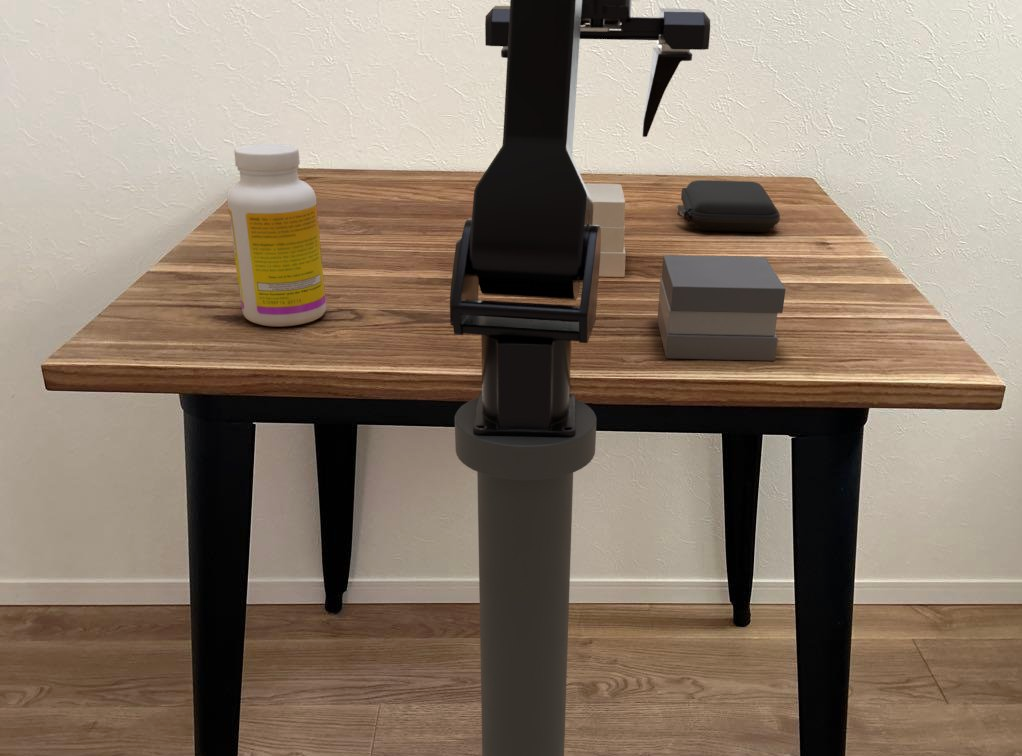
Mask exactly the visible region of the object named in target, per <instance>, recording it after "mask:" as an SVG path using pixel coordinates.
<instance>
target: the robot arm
mask: <svg viewBox="0 0 1022 756" xmlns="http://www.w3.org/2000/svg"><path fill="white" fill-rule="evenodd" d="M509 2H510V3H509V5H494V6H493V7H492V8H491V10H489V11H488V13H487V14H486V15H485V23H484V26H485V28H484V29H485V32H484V33H485V34H484V37H485V39H484V40H485V46H486V47H487V46H488V47H502V49H501V50H500V57H501V58H503V59H506V76H505V77H506V78H505V95H504V111H503V112H504V113H503V114H504V115H503V131H502V132H503V133H502V145H501V147H500V149H499V150H498V152H497V153H496V155H495V156H494V158H493V159H492V161H491V162H490V164H489V165H488V167H487V169H486V170H485V171H484V173H483V175H482V176H481V178H480V179H479V181H478V182H477V184H476V185H475V187H474V190H473V197H472V198H473V200H472V212H471V218H466V221H465V222H464V225H463V229H462V234H461V237H460V238H459V239H458V240H457V241H456V242H455V248H454V256H453V264H452V265H453V266H452V272H451V273H452V274H451V282H450V291H449V292H450V294H449V295H450V296H449V318H450V319H449V321H450V323H449V325H450V326H452V328H453V329H452V330H453V335H454V336H464V335H475V336H478V335H479V336H481V337H480V339H481V344H480V345H481V392H480V393H479V394H478V397H479V398H478V397H477V398H478V404H477V409H476V414H475V420H474V425H473V433H474V434H475V435H477V436H511V437H559V438H571V437H574V436H575V432H576V424H575V399H576V396H575V394H574V393H571V363H572V362H571V361H572V342H578V343H580V344H588V343H589V340H590V338H591V334H592V333H593V329H594V326H595V323H596V320H597V319H596V318H597V317H596V316H597V307H598V306H597V305H598V294H599V293H598V291H599V281H600V280H599V279H600V277H599V267H600V252H601V228H600V225H592V223H593V201H592V199H591V196H590V194H589V192H588V190H587V188H586V186H585V184H584V183H585V181H584V180H583V178H582V175H581V173H580V171H579V170H578V168H577V165H576V163H575V161H574V159H573V151H574V150H573V149H574V131H575V118H576V104H577V103H576V102H577V85H578V73H579V71H578V70H579V69H578V68H579V58H580V57H579V56H580V54H579V53H580V41H581V40H613V41H614V40H615V41H617V40H618V41H619V40H620V41H621V40H622V41H656V44H657V45H658V47H656V46H655V47H653V50H652V56H651V63H650V65H651V66H650V72H649V79H648V83H647V84H648V85H647V90H646V95H645V101H644V107H643V108H644V109H643V113H642V121H641V122H642V123H641V124H642V125H641V126H642V128H641V136H642V137H643V138H647V137H648V135H649V132H650V130H651V127H652V124H653V122H654V119H655V117H656V115H657V113H658V109H659V107H660V104H661V101H662V99H663V96H664V94H665V92H666V90H667V87H668V86H669V84H670V82H671V80H672V79H673V76H674V75H675V72H676V71H677V69H678V68H679V65H680V64H681V62H691V61H693V53H692V52H691V51H690V50H694V51H695V50H697V51H698V50H699V51H701V50H702V51H704V50H709V47H710V36H711V19H710V18H709V16H708V15H707V14H706V12H705V11H703V10H701V9H699V8H659V14H658V16H632V3H633V0H509ZM581 284H582V285H581ZM581 286H582V288H581ZM580 289H581V293H580ZM479 291H480V292H481V293H482V295H483V296H492V297H493V296H496V297H510V298H511V297H512V298H526V299H527V298H528V299H545V300H547V299H548V300H561V301H562V300H564V301H577V300H578V297H579V293H580V303H579V305H570V304H569V305H567V304H551V303H534V302H520V301H519V302H517V301H503V300H502V301H501V300H487V299H486V300H485V299H479Z"/></svg>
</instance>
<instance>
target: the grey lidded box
mask: <svg viewBox="0 0 1022 756" xmlns="http://www.w3.org/2000/svg"><path fill="white" fill-rule="evenodd" d="M786 290H787V289H786V287H785V286H784V284H783V283H782V281H781V279H780V277H779V276H778V274H777V273H776V272H775V269H774V268H773V267H772V265H771V263H770V262H769V260H768V258H767V257H766V256H733V255H732V256H731V255H729V256H728V255H684V254H683V255H681V254H680V255H678V254H663V256H662V268H661V277H660V278H659V291H658V306H657V318H656V319H657V320H656V323H657V326H658V330H659V335H660V339H661V343H662V347H663V351H664V355H665V359H667V360H668V359H669V360H672V359H673V360H715V361H716V360H717V361H719V360H720V361H763V362H764V361H768V362H771V361H772V362H775V360H776V356H777V355H776V354H777V349H778V347H777V346H778V339H779V337H778V335H777V334H776V329H777V321H778V314H783V312H784V305H785V297H786Z"/></svg>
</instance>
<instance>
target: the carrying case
mask: <svg viewBox="0 0 1022 756" xmlns="http://www.w3.org/2000/svg"><path fill="white" fill-rule="evenodd" d="M680 199H681V202H682V205H681V204H678V205H677V208H676V213H677V216H679V217H681V218H683V219H684V220H686V221H687V222H692V224H693V225H694V227H695V229H698V230H700V231H704V232H705V231H706V232H733V233H734V232H737V233H739V232H740V233H767V232H770V231H772V230H773V229H774V227H775V226H776V225H778V224H779V222H780V220H781V215H780V212H779V210H778V208H777V207H776V205H775V204H774V202H773V201H772V198H771V197H770V195H769V194H768V192H767V190H765V188H764V186H763V185H762V184H760V183H759V182H756V181H750V180H749V181H745V180H743V181H742V180H709V179H708V180H704V179H699V180H693V181H691V182H689V183H688V185H687V187H682V189H681V194H680Z"/></svg>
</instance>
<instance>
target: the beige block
mask: <svg viewBox="0 0 1022 756" xmlns="http://www.w3.org/2000/svg"><path fill="white" fill-rule="evenodd" d="M600 228H601V252H600V267H599V278H601V277H602V278H603V277H605V278H624V277H625V276H626V256H627V254H626V253H627V251H626V248H625V235H626V234H625V233H626V227H625V226H624V227H600Z"/></svg>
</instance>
